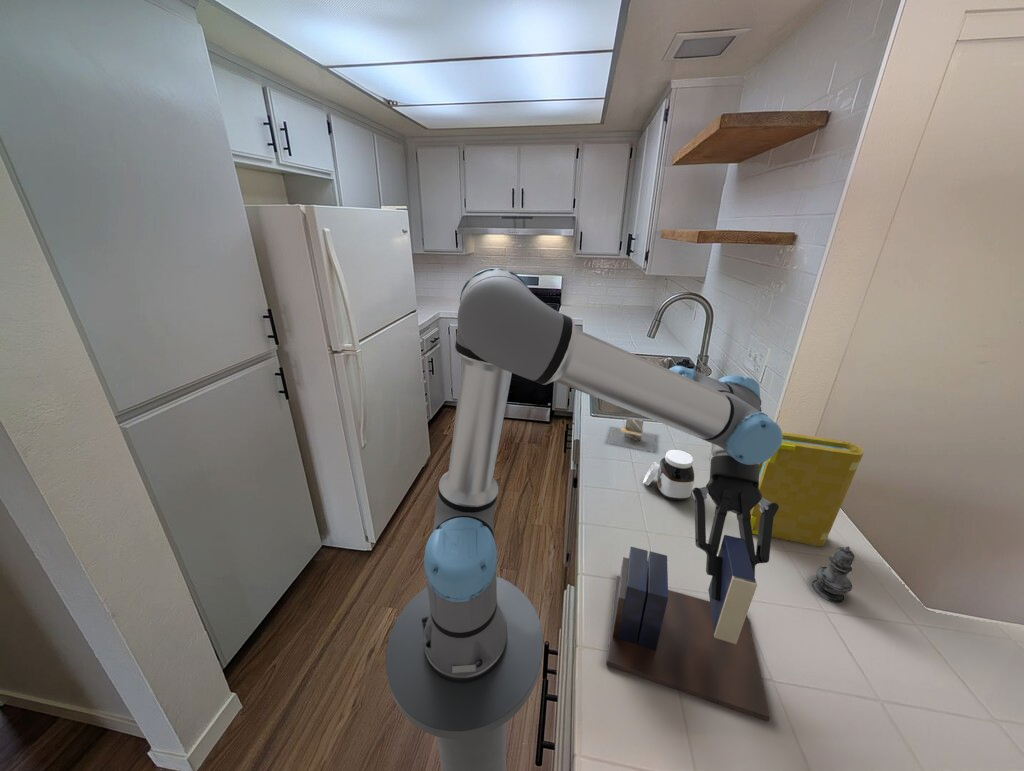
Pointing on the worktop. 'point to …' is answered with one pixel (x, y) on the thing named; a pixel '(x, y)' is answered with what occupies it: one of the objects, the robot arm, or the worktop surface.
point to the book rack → (679, 639)
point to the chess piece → (835, 576)
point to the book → (806, 486)
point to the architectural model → (633, 436)
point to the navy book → (733, 590)
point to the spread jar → (673, 475)
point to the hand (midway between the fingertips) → (728, 602)
